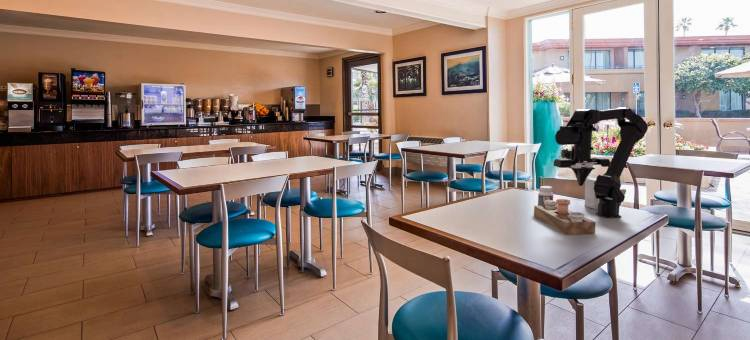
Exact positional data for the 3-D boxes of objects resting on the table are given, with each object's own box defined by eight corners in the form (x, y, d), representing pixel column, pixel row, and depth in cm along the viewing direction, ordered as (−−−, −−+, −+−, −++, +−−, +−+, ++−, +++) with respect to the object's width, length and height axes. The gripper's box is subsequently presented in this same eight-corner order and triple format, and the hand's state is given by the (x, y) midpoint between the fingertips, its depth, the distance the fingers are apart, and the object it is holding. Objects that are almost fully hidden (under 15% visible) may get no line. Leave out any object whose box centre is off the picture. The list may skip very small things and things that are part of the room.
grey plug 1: (552, 215, 163) (553, 200, 162) (558, 218, 158) (559, 202, 157) (541, 215, 162) (542, 200, 162) (546, 218, 158) (547, 203, 157)
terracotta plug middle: (565, 214, 153) (566, 198, 152) (571, 217, 148) (572, 201, 148) (553, 215, 153) (553, 199, 152) (559, 218, 148) (560, 201, 147)
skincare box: (603, 208, 172) (604, 179, 171) (593, 209, 171) (595, 180, 170) (592, 205, 178) (594, 177, 177) (583, 206, 177) (584, 178, 176)
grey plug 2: (578, 228, 144) (579, 211, 143) (586, 232, 139) (587, 215, 138) (565, 229, 144) (566, 212, 143) (572, 232, 139) (573, 215, 138)
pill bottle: (554, 212, 168) (555, 188, 166) (539, 212, 169) (540, 188, 167) (550, 209, 173) (551, 185, 172) (536, 208, 174) (537, 185, 173)
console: (558, 214, 164) (559, 205, 163) (595, 233, 139) (595, 221, 138) (533, 215, 163) (534, 205, 162) (565, 234, 138) (566, 222, 138)
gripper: (594, 141, 161) (592, 181, 163) (547, 142, 160) (546, 182, 162) (612, 143, 150) (609, 186, 152) (562, 145, 149) (560, 187, 151)
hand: (580, 185), depth 154 cm, fingers closed
